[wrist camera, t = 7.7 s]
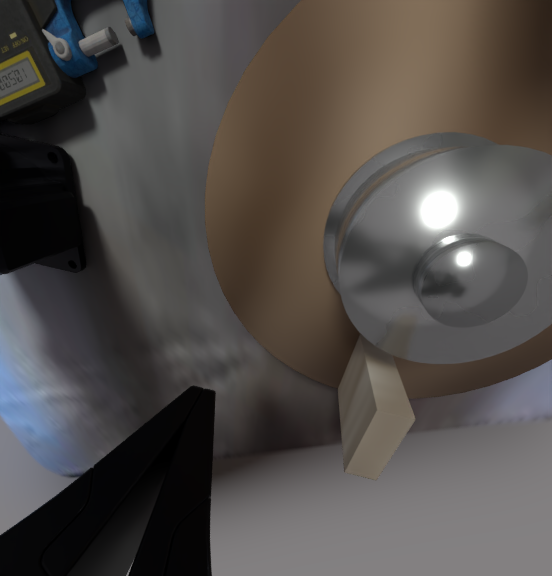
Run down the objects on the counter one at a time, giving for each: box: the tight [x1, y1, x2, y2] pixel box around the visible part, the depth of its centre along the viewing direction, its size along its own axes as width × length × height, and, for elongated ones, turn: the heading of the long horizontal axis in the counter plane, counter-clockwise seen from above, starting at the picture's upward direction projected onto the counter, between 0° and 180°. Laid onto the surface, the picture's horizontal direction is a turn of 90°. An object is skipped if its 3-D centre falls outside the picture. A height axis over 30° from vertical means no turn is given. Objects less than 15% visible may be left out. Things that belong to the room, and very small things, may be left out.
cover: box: [323, 132, 552, 364], centre depth 8 cm, size 7×7×4 cm
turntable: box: [205, 0, 552, 480], centre depth 9 cm, size 16×16×5 cm
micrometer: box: [0, 0, 154, 124], centre depth 11 cm, size 12×2×5 cm
